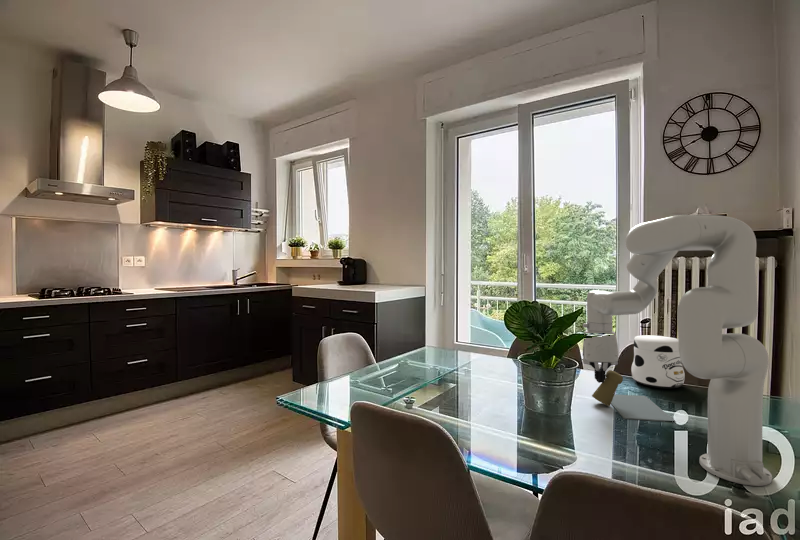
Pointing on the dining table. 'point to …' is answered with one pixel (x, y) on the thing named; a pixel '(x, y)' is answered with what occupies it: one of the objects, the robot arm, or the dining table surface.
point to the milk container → (657, 362)
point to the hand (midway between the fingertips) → (600, 381)
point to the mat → (638, 408)
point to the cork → (608, 388)
